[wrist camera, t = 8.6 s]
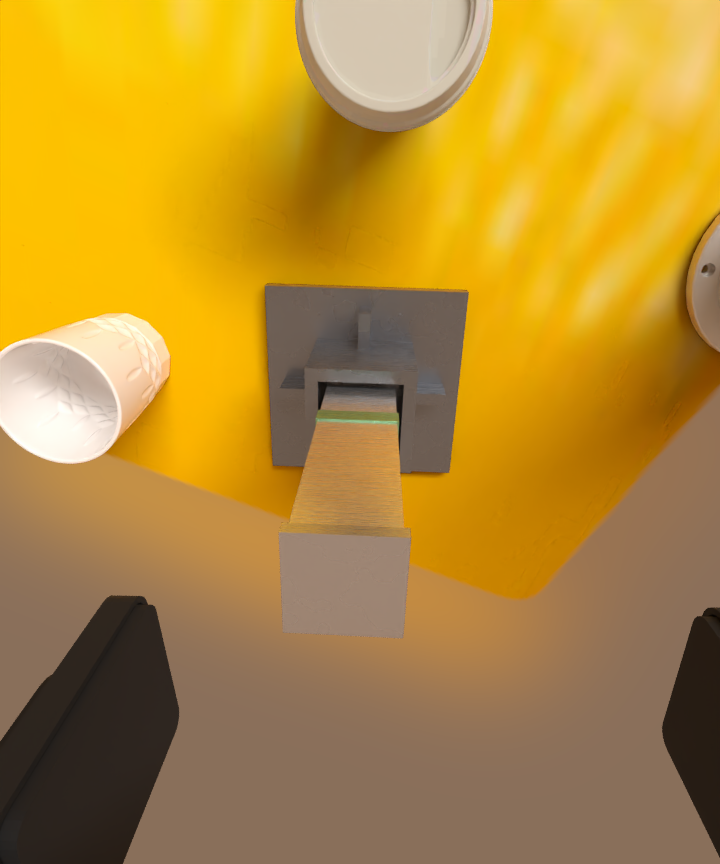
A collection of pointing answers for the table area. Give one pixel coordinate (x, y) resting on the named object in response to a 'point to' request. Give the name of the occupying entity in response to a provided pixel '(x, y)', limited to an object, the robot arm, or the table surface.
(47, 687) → the robot arm
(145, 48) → the table surface
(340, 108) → the coffee cup
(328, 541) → the post
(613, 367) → the table surface
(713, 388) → the table surface
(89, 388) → the white cup
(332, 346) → the stand base
